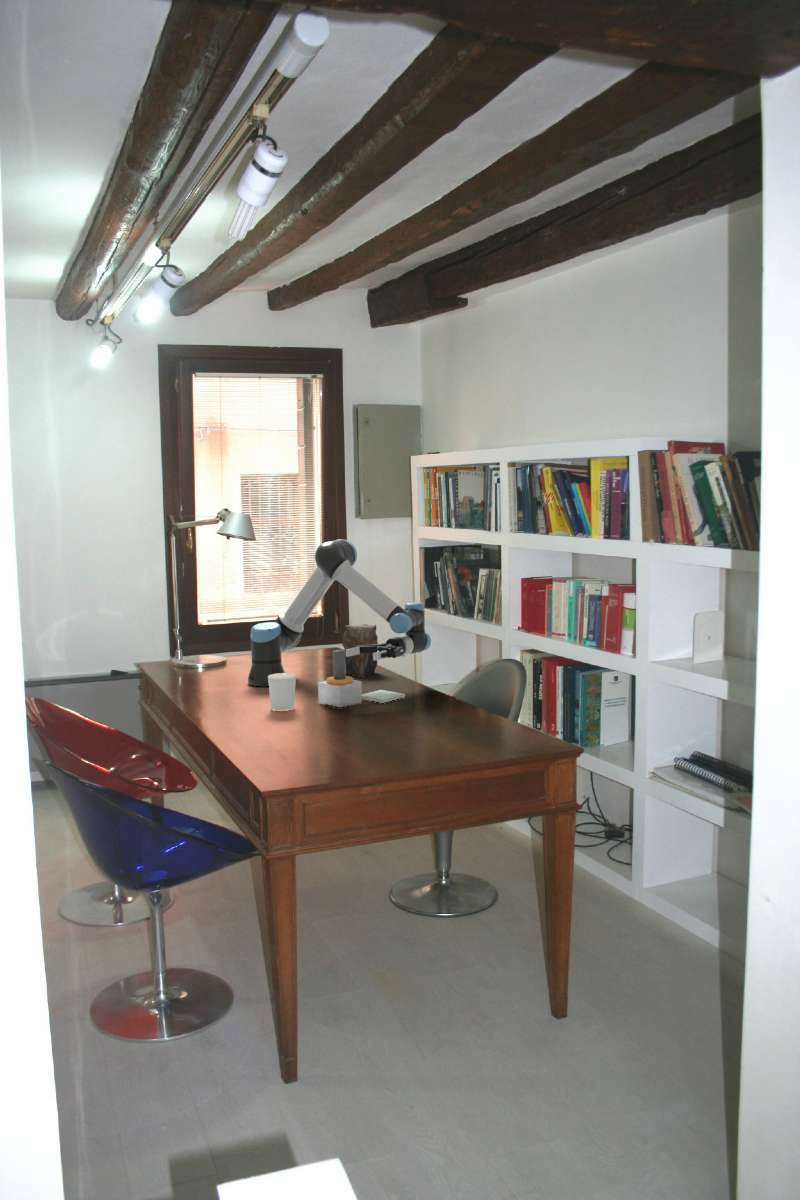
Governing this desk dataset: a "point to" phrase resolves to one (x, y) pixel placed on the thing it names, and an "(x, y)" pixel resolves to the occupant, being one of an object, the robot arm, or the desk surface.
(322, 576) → the robot arm
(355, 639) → the owl
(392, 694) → the mat
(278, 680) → the candle holder
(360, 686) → the block
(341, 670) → the end cover
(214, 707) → the desk surface
